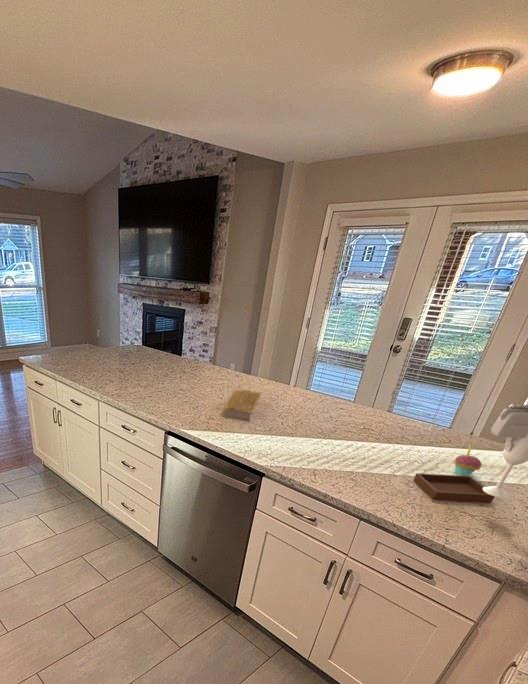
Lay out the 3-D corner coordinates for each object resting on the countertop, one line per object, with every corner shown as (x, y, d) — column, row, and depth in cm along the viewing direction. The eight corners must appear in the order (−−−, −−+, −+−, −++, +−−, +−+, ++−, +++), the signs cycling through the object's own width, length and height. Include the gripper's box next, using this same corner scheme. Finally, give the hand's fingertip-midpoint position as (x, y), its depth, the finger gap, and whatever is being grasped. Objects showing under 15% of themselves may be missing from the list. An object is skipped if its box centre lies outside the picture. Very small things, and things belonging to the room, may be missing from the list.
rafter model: (233, 395, 228) (235, 384, 224) (259, 399, 224) (262, 388, 221) (221, 416, 200) (223, 403, 197) (251, 421, 196) (253, 408, 193)
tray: (466, 483, 152) (470, 476, 150) (491, 502, 140) (495, 495, 139) (413, 480, 152) (416, 473, 150) (433, 499, 141) (436, 492, 139)
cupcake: (453, 476, 156) (469, 447, 149) (445, 466, 163) (459, 438, 156) (479, 480, 154) (495, 450, 148) (470, 469, 161) (485, 441, 155)
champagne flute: (509, 492, 130) (552, 419, 117) (507, 500, 126) (551, 425, 113) (484, 484, 134) (523, 413, 121) (480, 492, 130) (521, 419, 116)
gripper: (515, 408, 112) (490, 454, 120) (592, 411, 112) (562, 457, 119) (499, 400, 117) (476, 445, 125) (572, 403, 117) (545, 448, 125)
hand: (519, 451), depth 122 cm, fingers closed on champagne flute, 5 cm apart
